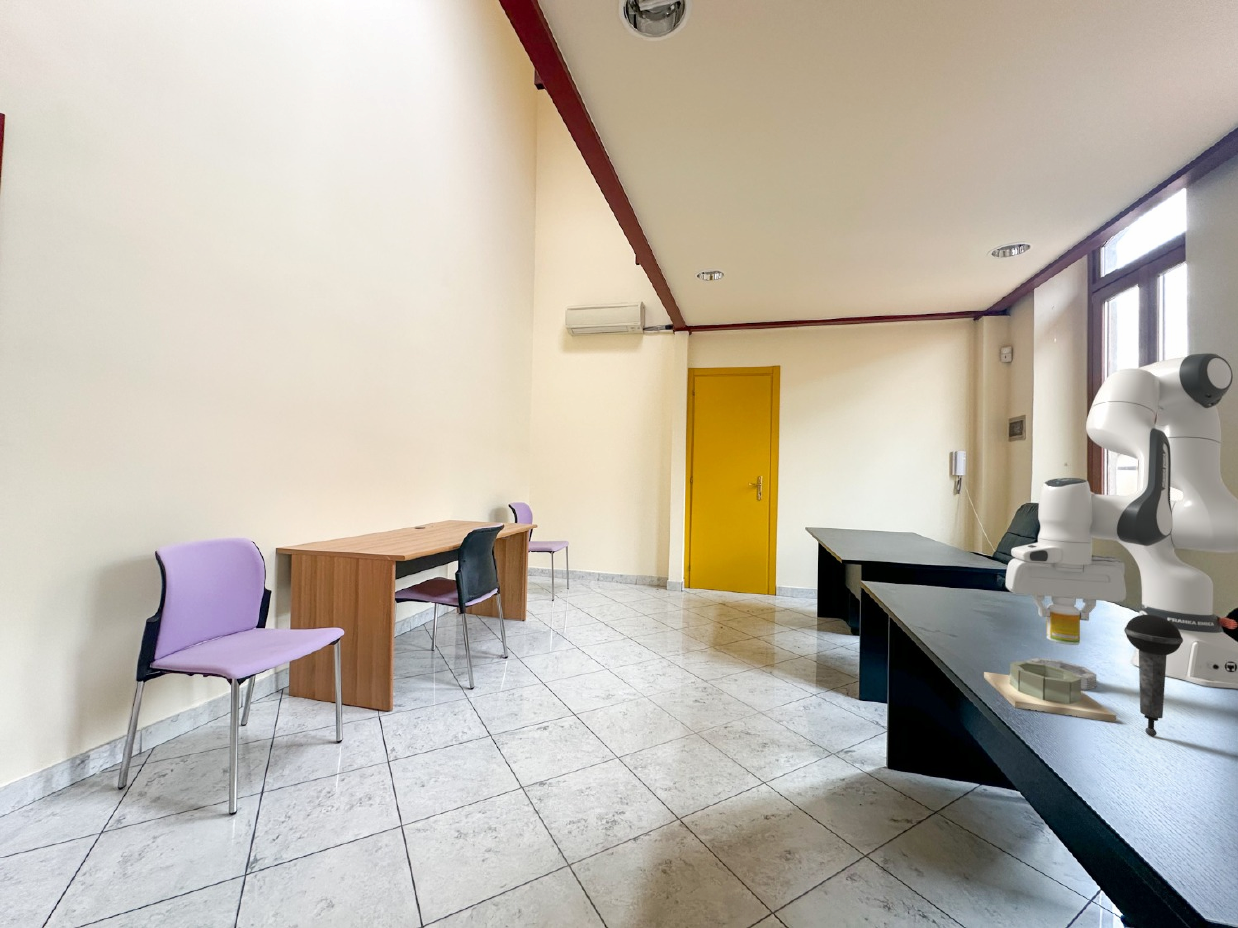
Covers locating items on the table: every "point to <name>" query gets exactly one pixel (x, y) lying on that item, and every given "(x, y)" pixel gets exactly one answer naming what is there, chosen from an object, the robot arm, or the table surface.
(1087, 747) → the table surface
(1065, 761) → the table surface
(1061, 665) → the holder ring
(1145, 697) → the microphone
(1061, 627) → the supplement bottle
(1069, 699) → the socket board
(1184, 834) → the table surface
